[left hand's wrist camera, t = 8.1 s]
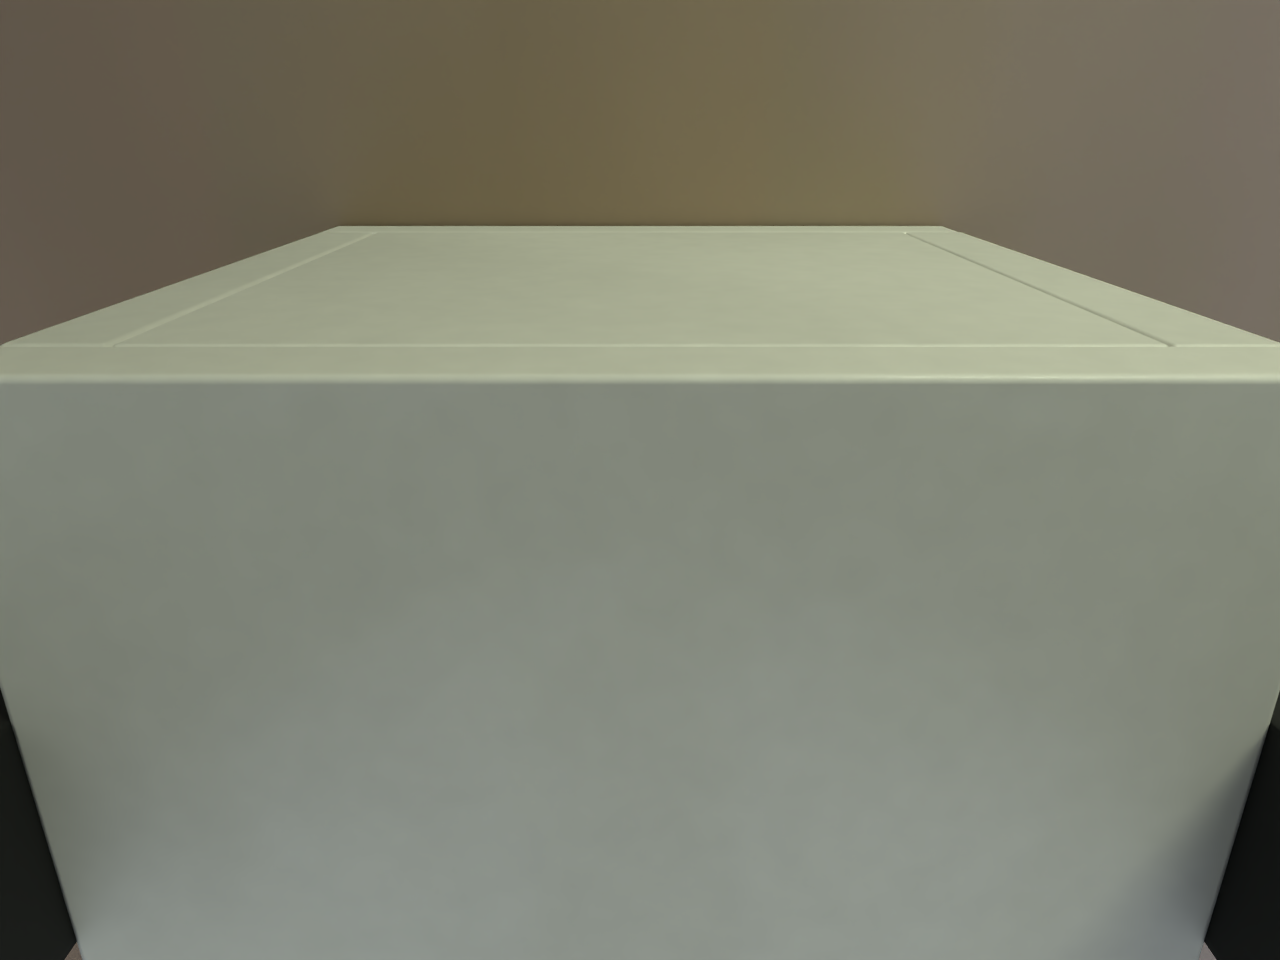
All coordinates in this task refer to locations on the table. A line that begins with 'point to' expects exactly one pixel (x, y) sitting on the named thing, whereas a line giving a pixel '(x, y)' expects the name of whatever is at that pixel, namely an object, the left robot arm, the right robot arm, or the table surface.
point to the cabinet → (640, 600)
